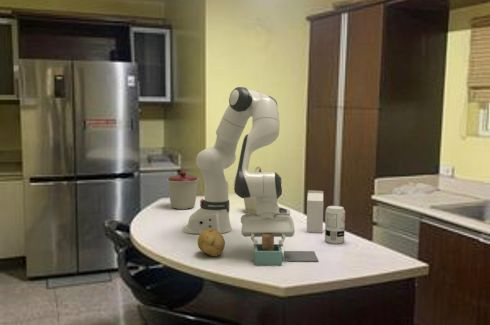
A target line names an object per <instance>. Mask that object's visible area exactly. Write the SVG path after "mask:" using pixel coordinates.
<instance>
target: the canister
mask: <svg viewBox="0 0 490 325" xmlns="http://www.w3.org/2000/svg"><path fill="white" fill-rule="evenodd" d="M199 180H200V178H199V177H197V176H194V175H189V174H188V175H187V172H186V171H185V170H181V171H180V172H179V174H178V175H172V176H169V177H168V178H167V179H166V182H167V186H168V194H169V201H170V205H171V207H172V208H173V209H175V208H177V209H176V210H189V209H188V208H190V209H193V208H194V207H195V205H196V199H197V193H198V192H197V191H198V183H199ZM192 207H193V208H192Z"/></svg>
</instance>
